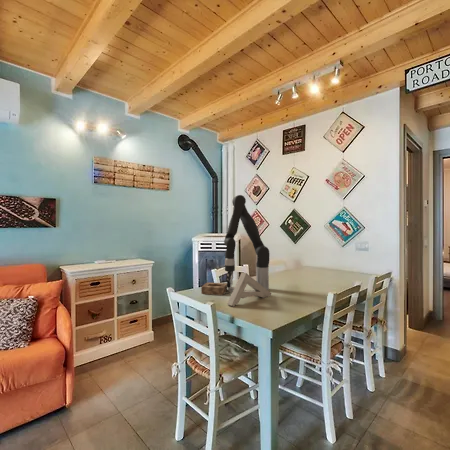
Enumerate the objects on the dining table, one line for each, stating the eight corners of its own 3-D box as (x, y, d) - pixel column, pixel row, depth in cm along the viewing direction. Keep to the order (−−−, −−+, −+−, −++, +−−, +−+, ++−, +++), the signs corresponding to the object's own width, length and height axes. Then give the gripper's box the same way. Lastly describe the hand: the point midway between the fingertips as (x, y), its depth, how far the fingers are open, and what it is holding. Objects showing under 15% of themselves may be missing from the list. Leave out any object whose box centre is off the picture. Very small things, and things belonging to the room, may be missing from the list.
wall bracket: (259, 323, 183) (231, 305, 167) (254, 321, 186) (227, 303, 170) (271, 293, 191) (246, 273, 175) (266, 292, 194) (241, 272, 178)
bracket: (228, 291, 203) (228, 278, 203) (229, 290, 207) (229, 276, 207) (238, 292, 202) (238, 278, 201) (239, 290, 205) (239, 277, 205)
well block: (227, 289, 208) (227, 283, 207) (223, 294, 194) (223, 287, 194) (206, 288, 211) (206, 282, 211) (201, 293, 197) (201, 286, 197)
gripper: (232, 266, 197) (233, 288, 197) (236, 263, 211) (236, 284, 211) (222, 265, 198) (222, 288, 199) (226, 262, 212) (226, 283, 213)
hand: (229, 285), depth 205 cm, fingers open, 8 cm apart
